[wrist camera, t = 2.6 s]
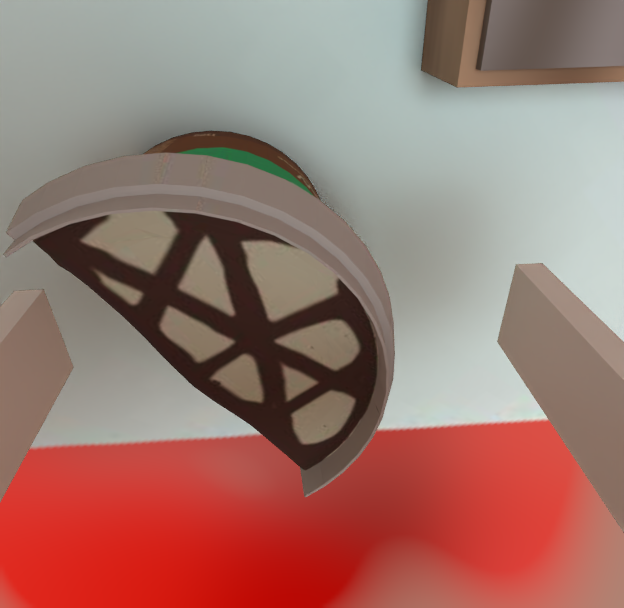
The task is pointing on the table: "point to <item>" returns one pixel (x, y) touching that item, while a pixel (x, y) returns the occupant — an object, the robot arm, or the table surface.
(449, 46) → the walnut stand
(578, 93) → the table surface
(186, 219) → the food container
